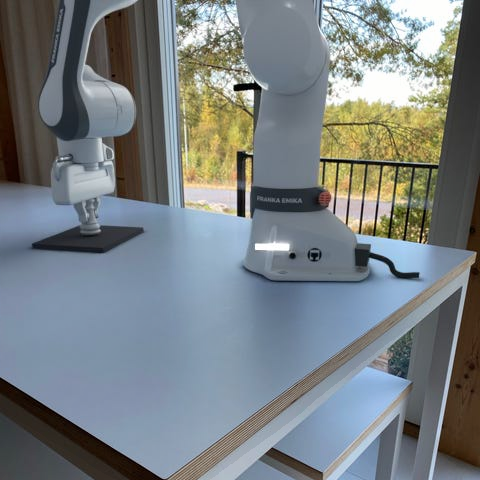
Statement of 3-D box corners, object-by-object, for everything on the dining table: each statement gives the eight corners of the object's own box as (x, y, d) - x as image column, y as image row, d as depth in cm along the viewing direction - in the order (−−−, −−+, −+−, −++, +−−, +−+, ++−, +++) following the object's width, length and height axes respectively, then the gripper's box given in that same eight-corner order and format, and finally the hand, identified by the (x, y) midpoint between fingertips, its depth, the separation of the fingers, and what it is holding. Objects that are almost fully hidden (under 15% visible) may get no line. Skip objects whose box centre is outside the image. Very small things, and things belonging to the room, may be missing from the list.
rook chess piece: (100, 230, 107) (96, 194, 104) (101, 234, 103) (97, 197, 100) (79, 231, 106) (75, 195, 102) (80, 236, 102) (75, 198, 99)
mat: (143, 231, 112) (143, 227, 112) (103, 252, 94) (103, 247, 94) (82, 228, 116) (81, 224, 115) (32, 248, 98) (31, 243, 97)
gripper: (67, 156, 88) (77, 230, 93) (117, 150, 106) (123, 212, 112) (37, 156, 89) (48, 229, 94) (91, 150, 107) (98, 211, 113)
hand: (89, 220), depth 103 cm, fingers closed on rook chess piece, 3 cm apart
